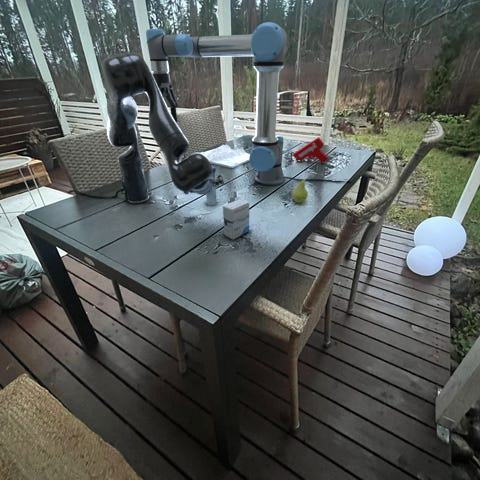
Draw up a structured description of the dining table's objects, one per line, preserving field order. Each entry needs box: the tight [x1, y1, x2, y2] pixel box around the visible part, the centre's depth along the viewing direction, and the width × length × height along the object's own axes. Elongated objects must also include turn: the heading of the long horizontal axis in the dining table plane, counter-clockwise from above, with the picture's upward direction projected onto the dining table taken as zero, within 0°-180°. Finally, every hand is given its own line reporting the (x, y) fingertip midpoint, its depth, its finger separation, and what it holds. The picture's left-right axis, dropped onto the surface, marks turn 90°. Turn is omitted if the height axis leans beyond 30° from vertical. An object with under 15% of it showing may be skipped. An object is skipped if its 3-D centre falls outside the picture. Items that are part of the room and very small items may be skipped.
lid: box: [212, 165, 217, 174], centre depth 113 cm, size 5×5×2 cm
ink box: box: [222, 198, 250, 240], centre depth 96 cm, size 8×5×12 cm, turn 134°
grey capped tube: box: [205, 172, 218, 206], centre depth 117 cm, size 4×4×16 cm
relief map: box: [200, 144, 250, 169], centre depth 178 cm, size 27×35×5 cm
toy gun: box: [293, 136, 329, 165], centre depth 169 cm, size 18×4×15 cm
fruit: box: [291, 174, 311, 204], centre depth 118 cm, size 7×8×12 cm
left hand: (205, 187), depth 101 cm, fingers open, 8 cm apart
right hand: (167, 124), depth 132 cm, fingers open, 13 cm apart
